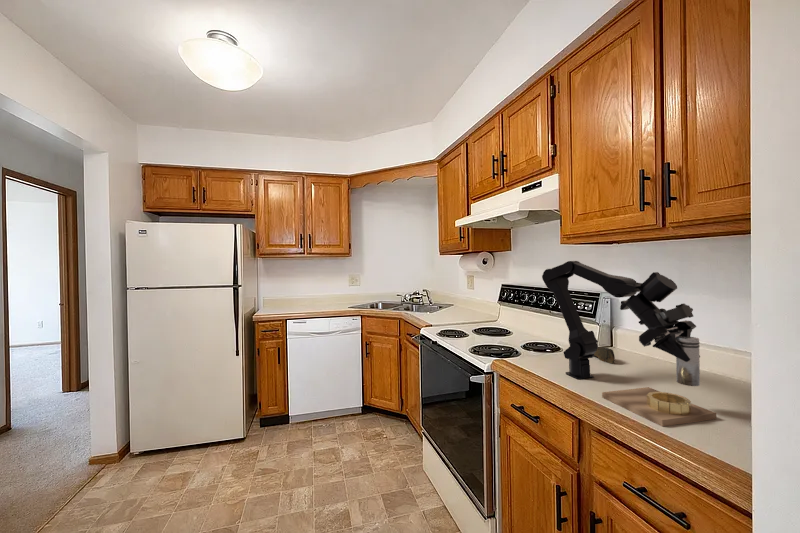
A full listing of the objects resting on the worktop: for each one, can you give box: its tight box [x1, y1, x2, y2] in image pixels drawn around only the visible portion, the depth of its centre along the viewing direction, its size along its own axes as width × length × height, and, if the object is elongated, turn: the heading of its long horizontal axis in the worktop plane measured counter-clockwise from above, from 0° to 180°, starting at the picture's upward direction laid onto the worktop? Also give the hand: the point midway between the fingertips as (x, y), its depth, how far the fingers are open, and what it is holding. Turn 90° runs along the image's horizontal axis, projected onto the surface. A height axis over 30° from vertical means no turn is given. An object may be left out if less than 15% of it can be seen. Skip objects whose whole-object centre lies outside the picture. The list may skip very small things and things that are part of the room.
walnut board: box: [601, 386, 717, 427], centre depth 95 cm, size 19×16×2 cm
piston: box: [675, 336, 701, 387], centre depth 94 cm, size 5×5×12 cm
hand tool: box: [593, 346, 616, 365], centre depth 146 cm, size 23×5×6 cm, turn 1°
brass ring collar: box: [647, 391, 692, 415], centre depth 92 cm, size 9×9×2 cm
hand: (693, 359), depth 93 cm, fingers closed on piston, 5 cm apart
